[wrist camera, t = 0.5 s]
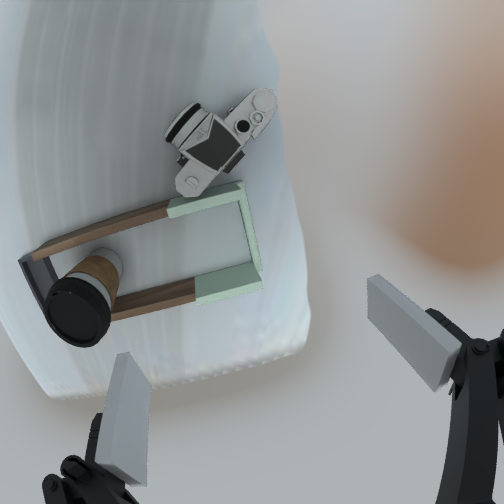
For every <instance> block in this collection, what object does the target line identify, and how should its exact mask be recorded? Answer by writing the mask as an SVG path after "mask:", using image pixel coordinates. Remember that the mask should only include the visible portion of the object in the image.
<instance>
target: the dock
mask: <svg viewBox="0 0 504 504" xmlns="http://www.w3.org/2000/svg"><path fill="white" fill-rule="evenodd" d="M238 200H239V205H240V209H241V214H242V218H243V222H244V227H245V231H246V236H247V240H248V244H249V249H250V253H251V258H252V261H251V262H248V263H244V264H240V265H237V266H233V267H229V268H226V269H222V270H218V271H215V272H211V273H207V274H203V275H200V276H196V277H195V299H196V302H197V304H198V306H200V305H204V304H208V303H212V302H216V301H219V300H223V299H227V298H230V297H234V296H238V295H241V294H245V293H249V292H252V291H256V290H259V289H263V288H264V287H263V283H262V280H261V278H260V276H259V274H258V272H259V271H262V266H261V262H260V257H259V252H258V248H257V243H256V238H255V234H254V229H253V224H252V220H251V215H250V211H249V206H248V201H247V197H246V192H245V188H244V183H243V181H238V182H234V183H230V184H226V185H222V186H218V187H214V188H210V189H206V190H204V191H203V192H202V193H201V194H200V195H199V196H198V197H186V198H185V197H184V196H180V197H177V198H173V199H171V200H170V203H169V205H168V207H167V209H166V210H167V213H168V216H169V219H171V218H175V217H178V216H182V215H185V214H189V213H192V212H196V211H200V210H203V209H207V208H211V207H215V206H219V205H222V204H226V203H230V202H234V201H238Z"/></svg>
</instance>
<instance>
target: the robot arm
mask: <svg viewBox="0 0 504 504" xmlns="http://www.w3.org/2000/svg"><path fill="white" fill-rule="evenodd" d="M367 290H368V291H367V292H368V319H369V320H370V321H371V322H372V323H373V324H374V325H375V326H376V327H377V329H378V330H379V331H380V332H381V333H382V334H383V335H384V336H385V337H386V338H387V339H388V341H389V342H390V343H391V344H392V345H393V346H394V347H395V348H396V349H397V351H398V352H399V353H400V354H401V355H402V356H403V357H404V358H405V360H406V361H407V362H408V363H409V364H410V365H411V366H412V367H413V369H414V370H415V371H416V372H417V373H418V374H419V375H420V377H421V378H422V379H423V380H424V381H425V382H426V383H427V385H428V386H429V387H430V388H431V389H432V391H433V392H435V393H436V392H438V391H439V390H441V389H442V388H443V387H445V386H446V385H447V383H448V381H449V378H450V377H451V378H452V379H453V381H454V382H453V384H452V387H451V389H450V391H449V395H451V393H452V410H451V421H450V431H449V439H448V447H447V453H446V459H445V464H444V470H443V475H442V479H441V484H440V489H439V493H438V496H437V500H436V503H435V504H496V503H495V502H494V501H493V500H492V493H493V487H494V480H495V473H496V463H497V451H498V420H499V424H500V429H501V433H502V438H503V443H504V329H503V330H502V332H501V335H500V337H499V338H496V339H494V340H491V341H486V340H484V339H480V338H477V339H472V338H470V337H469V336H468V335H467V334H466V333H465V332H463V331H462V330H461V329H460V328H459V327H458V326H456V325H455V324H454V323H452V322H451V321H450V320H449V319H448V318H446V317H445V316H444V315H443V314H442V313H441V312H439V311H437V310H434V309H432V308H429V309H427V310H426V311H424V310H423V309H421V308H420V307H419V306H418V305H416V304H415V303H414V302H413V301H411V299H409V298H408V297H407V296H406V295H404V294H403V293H402V292H401V291H399V290H398V289H397V288H396V287H394V286H393V285H392V284H391V283H389V282H388V281H387V280H386V279H384V278H383V277H382V276H380V275H379V274H377V275H375V276H372V277H370V278H367ZM151 387H152V385H151V384H150V383H149V381H148V380H147V378H146V377H145V375H144V374H143V372H142V371H141V369H140V368H139V366H138V365H137V363H136V362H135V360H134V359H133V357H132V356H131V354H130V353H129V352H126V353H122V354H117V357H116V361H115V364H114V368H113V372H112V376H111V380H110V384H109V388H108V393H107V397H106V402H105V406H104V411H103V413H97V414H96V416H95V418H94V419H93V421H92V424H91V429H90V431H91V432H90V433H89V439H88V444H87V450H86V455H85V461H84V460H82V459H81V458H80V457H79V456H76V455H70V456H68V457H66V458H65V459H64V460H63V462H62V464H61V469H60V471H61V474H62V475H63V476H64V477H66V478H60V477H59V476H57V475H55V474H49V475H48V476H46V477H45V478H44V480H43V483H42V489H43V493H44V498H45V503H46V504H139V503H138V502H137V501H136V499H135V498H134V497H133V496H132V495H131V494H130V492H129V491H128V490H126V489H125V483H126V484H128V485H130V486H131V487H147V447H148V425H149V411H150V397H151Z"/></svg>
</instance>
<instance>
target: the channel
mask: <svg viewBox="0 0 504 504" xmlns="http://www.w3.org/2000/svg"><path fill="white" fill-rule="evenodd" d="M170 200H171V199H170ZM170 200H167V201H163V202H160V203H157V204H153V205H150V206H147V207H144V208H140V209H137V210H134V211H131V212H128V213H125V214H122V215H119V216H116V217H113V218H110V219H107V220H104V221H101V222H98V223H95V224H93V225H90V226H87V227H84V228H82V229H79V230H76V231H73V232H71V233H68V234H66V235H63V236H60V237H58V238H55V239H53V240H50V241H48V242H45V243H44V244H43V245H41V246H40V247H39V248H38V249H36V250H35V251H34V252H33V253H32V254H31V256H32V258H33V261H37V260H40V259H42V258H45V257H47V256H50V255H53V254H56V253H58V252H61V251H64V250H67V249H69V248H72V247H75V246H78V245H81V244H83V243H86V242H89V241H92V240H95V239H98V238H101V237H104V236H107V235H110V234H113V233H116V232H119V231H123V230H126V229H129V228H132V227H135V226H138V225H142V224H145V223H148V222H152V221H155V220H158V219H162V218H165V217H169V216H168V213H167V210H166V209H167V207H168V205H169V203H170ZM193 301H196V299H195V277H192V278H189V279H185V280H181V281H177V282H174V283H170V284H166V285H162V286H159V287H155V288H151V289H147V290H143V291H140V292H136V293H132V294H128V295H124V296H121V297H117V298H115V301H114V305H113V309H112V313H111V322H112V321H116V320H121V319H125V318H129V317H133V316H137V315H142V314H146V313H150V312H154V311H158V310H162V309H166V308H170V307H174V306H178V305H182V304H186V303H190V302H193Z"/></svg>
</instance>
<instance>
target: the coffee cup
mask: <svg viewBox="0 0 504 504" xmlns="http://www.w3.org/2000/svg"><path fill="white" fill-rule="evenodd" d="M122 272H123V266H122V262H121V260H120V258H119V257H118V255H117V254H116V253H114V252H113V251H111V250H109V249H105V248H100V249H97V250H95V251H93V252H92V253H91V254H90V255H89V256H88V257H87V258H85V259H84V260H83V261H81V262H80V263H79V264H78V265H77V266H75V267H74V268H73V269H72V270H71V271H69V272H68V273H67V274H66V275H65V276H64V277H63V278H61V279H59V280H58V281H56V282H55V283H54V284H53V285H52V286H51V288H50V290H49V291H48V295H47V297H46V299H45V302H44V305H43V312H44V315H45V318H46V320H47V322H48V324H49V326H50V327H51V328H52V330H53V331H54V332H55V333H56V334H57V335H58V336H59V337H60V338H61V339H63V340H64V341H66V342H67V343H69V344H71V345H73V346H77V347H83V348H86V347H91V346H94V345H95V344H97V343H98V342H99V341H100V339H101V338H102V337H103V336H104V335H105V334H106V332H107V330H108V328H109V326H110V323H111V313H112V309H113V305H114V301H115V297H116V293H117V290H118V286H119V282H120V279H121V276H122Z"/></svg>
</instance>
